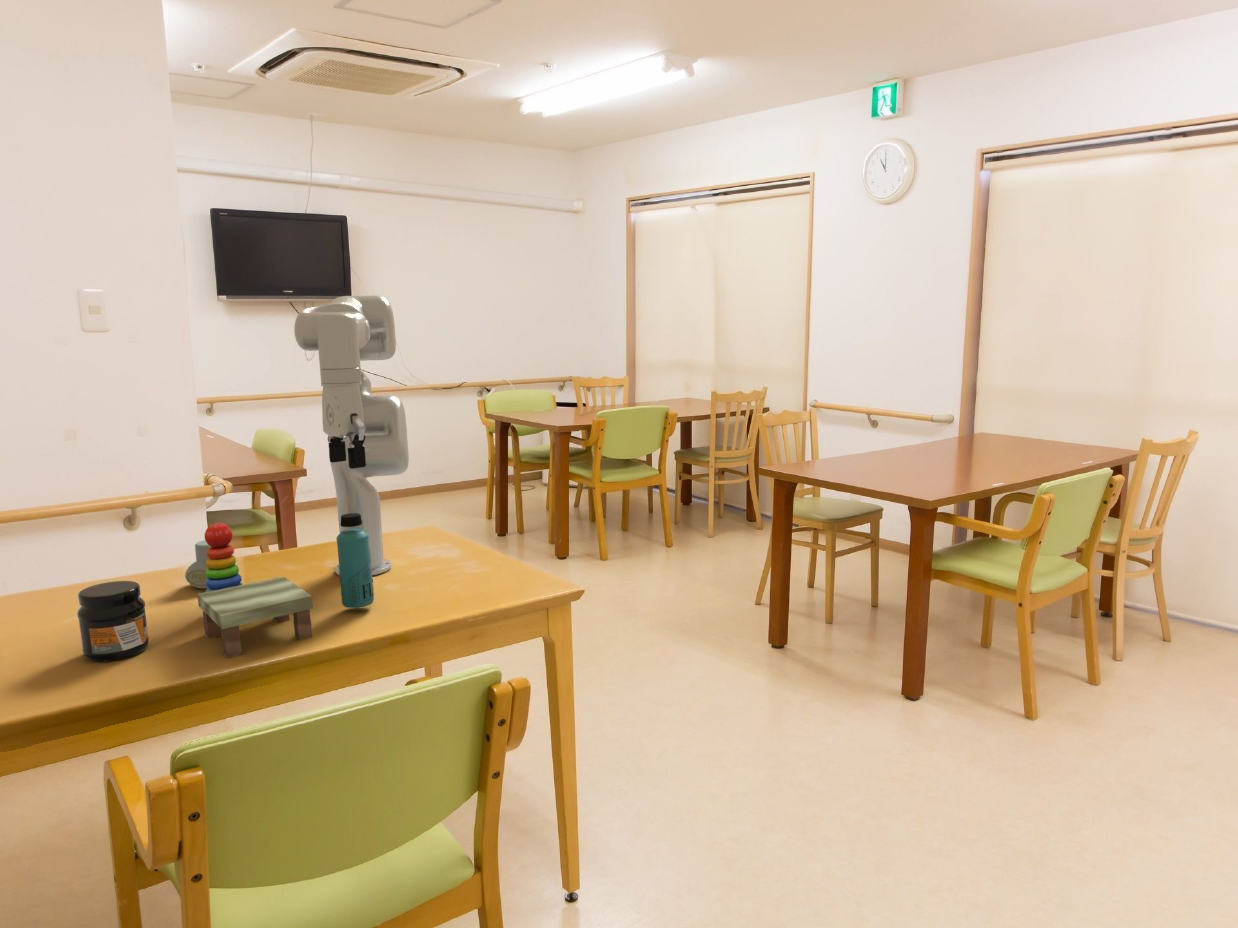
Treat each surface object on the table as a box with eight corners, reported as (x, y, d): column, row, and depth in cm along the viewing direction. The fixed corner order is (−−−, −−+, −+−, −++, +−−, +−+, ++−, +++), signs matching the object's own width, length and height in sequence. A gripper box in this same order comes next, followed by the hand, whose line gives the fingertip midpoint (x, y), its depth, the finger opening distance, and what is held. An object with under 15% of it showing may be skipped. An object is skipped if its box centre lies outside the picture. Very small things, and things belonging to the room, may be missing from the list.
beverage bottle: (365, 616, 173) (358, 518, 170) (335, 614, 175) (327, 517, 171) (381, 605, 180) (374, 510, 176) (351, 603, 181) (344, 510, 177)
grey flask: (179, 590, 192) (174, 546, 190) (203, 579, 200) (198, 536, 198) (225, 592, 190) (220, 547, 189) (246, 580, 198) (242, 537, 197)
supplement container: (139, 660, 154) (131, 595, 151) (73, 666, 151) (64, 600, 149) (157, 638, 164) (150, 577, 162) (96, 644, 162) (87, 582, 159)
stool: (201, 634, 165) (197, 593, 164) (287, 614, 175) (283, 576, 174) (225, 659, 153) (220, 616, 152) (315, 636, 163) (312, 595, 161)
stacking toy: (257, 608, 179) (248, 520, 176) (228, 622, 172) (218, 530, 168) (226, 605, 182) (217, 517, 178) (196, 618, 174) (186, 527, 171)
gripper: (306, 376, 173) (313, 461, 176) (339, 381, 160) (346, 472, 163) (342, 374, 178) (349, 457, 181) (378, 378, 165) (384, 467, 167)
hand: (347, 464), depth 172 cm, fingers open, 9 cm apart
